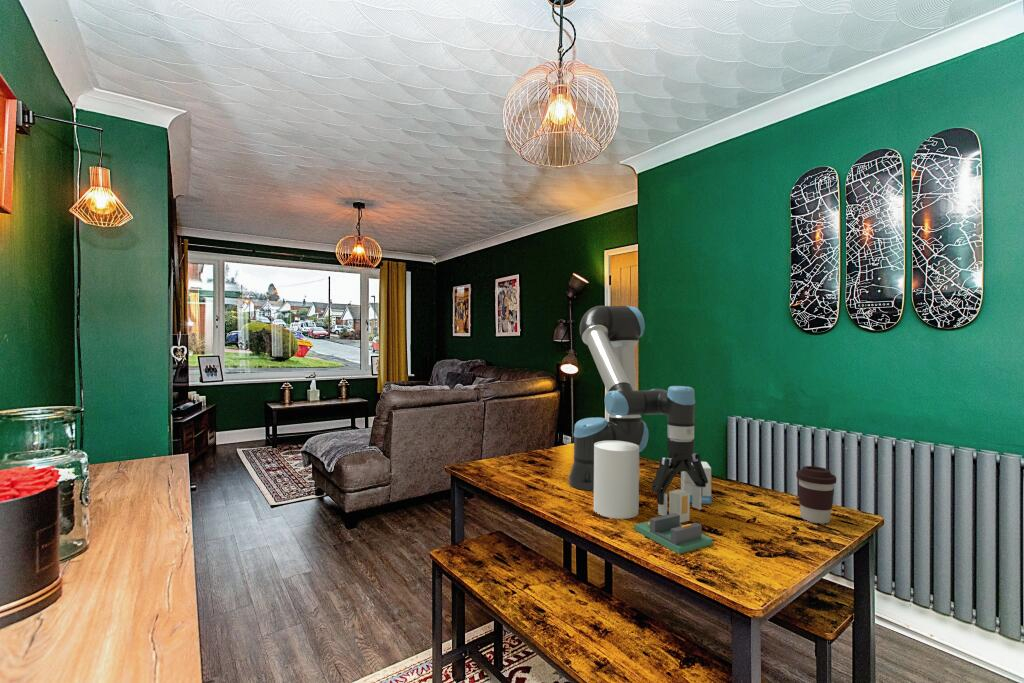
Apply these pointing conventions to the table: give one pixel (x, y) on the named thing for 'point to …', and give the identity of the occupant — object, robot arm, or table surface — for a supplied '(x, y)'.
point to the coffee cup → (815, 493)
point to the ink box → (688, 483)
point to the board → (671, 546)
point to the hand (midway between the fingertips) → (680, 511)
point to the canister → (616, 479)
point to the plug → (679, 504)
